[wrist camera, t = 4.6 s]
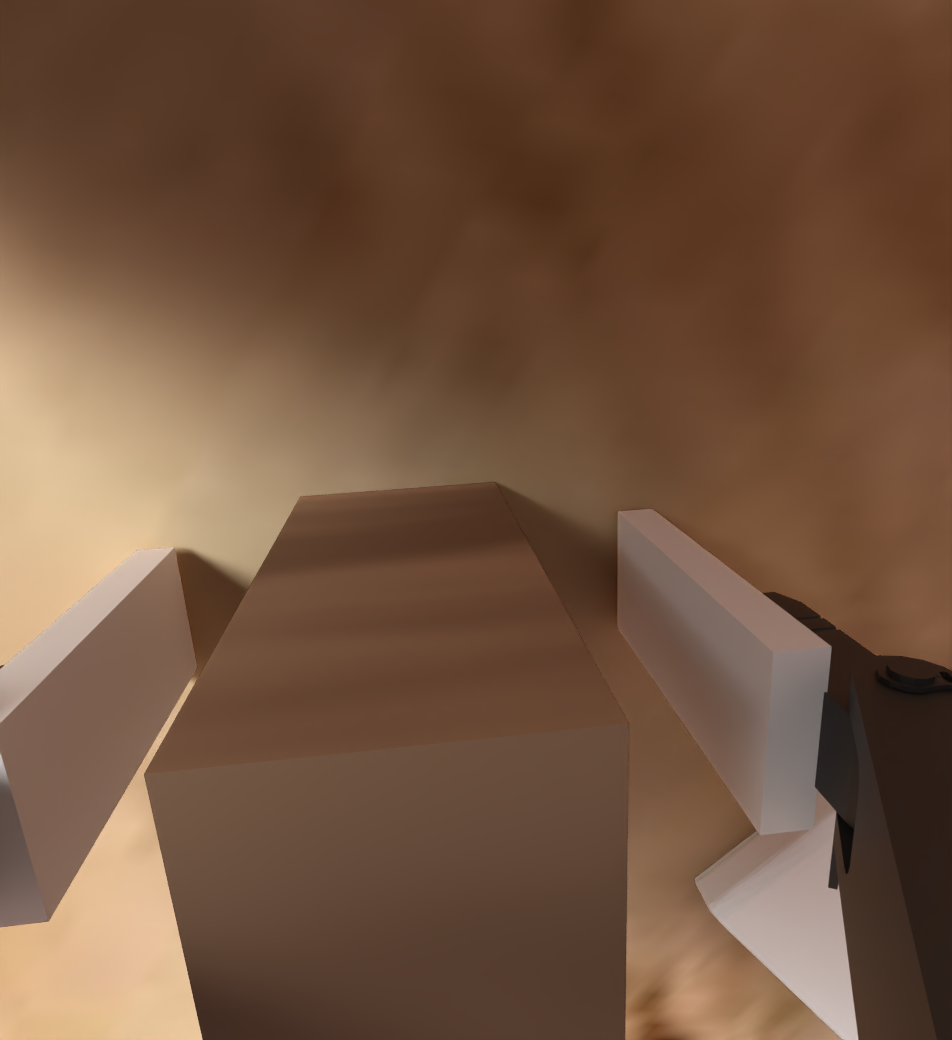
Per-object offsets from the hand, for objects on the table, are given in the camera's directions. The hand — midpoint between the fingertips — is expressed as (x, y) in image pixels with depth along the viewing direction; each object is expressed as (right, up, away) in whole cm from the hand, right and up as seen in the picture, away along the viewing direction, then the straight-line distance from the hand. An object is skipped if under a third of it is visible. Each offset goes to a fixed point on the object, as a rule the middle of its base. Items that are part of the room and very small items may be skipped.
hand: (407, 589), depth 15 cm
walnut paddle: (0, -8, +2) cm, 8 cm away
